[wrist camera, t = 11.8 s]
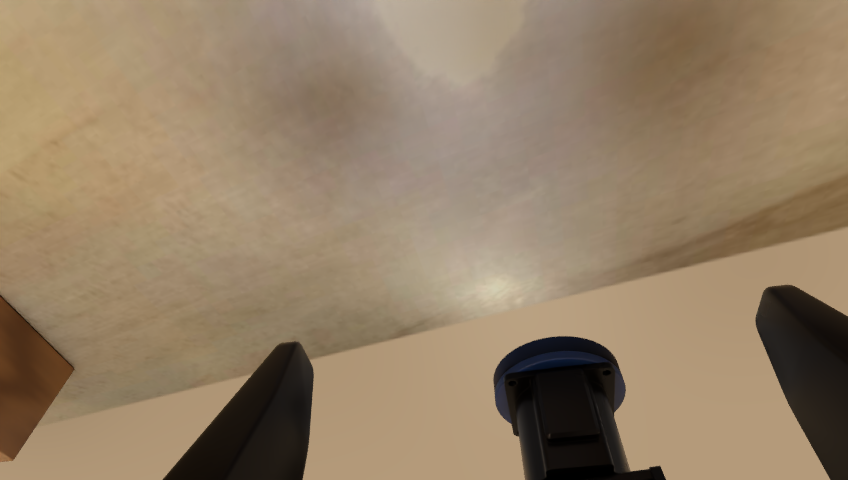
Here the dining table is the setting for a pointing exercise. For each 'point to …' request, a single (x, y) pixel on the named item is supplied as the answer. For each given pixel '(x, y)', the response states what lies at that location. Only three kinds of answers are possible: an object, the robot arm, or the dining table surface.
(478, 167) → the dining table surface
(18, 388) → the stand
